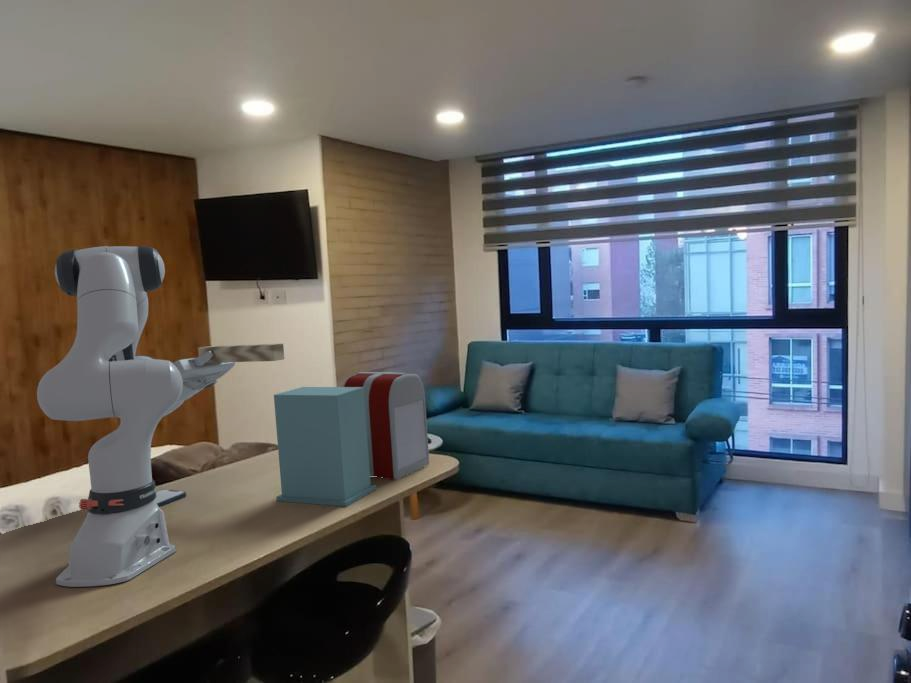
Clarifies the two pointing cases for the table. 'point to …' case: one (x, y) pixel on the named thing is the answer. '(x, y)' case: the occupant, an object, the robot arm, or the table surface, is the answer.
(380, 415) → the red striped toaster
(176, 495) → the phone case
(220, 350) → the rail
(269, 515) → the table surface
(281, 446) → the tall teal upright box
